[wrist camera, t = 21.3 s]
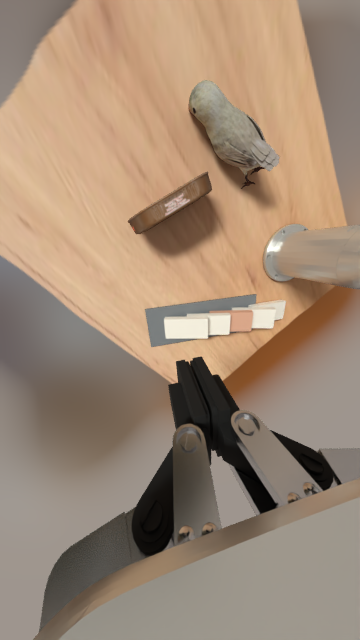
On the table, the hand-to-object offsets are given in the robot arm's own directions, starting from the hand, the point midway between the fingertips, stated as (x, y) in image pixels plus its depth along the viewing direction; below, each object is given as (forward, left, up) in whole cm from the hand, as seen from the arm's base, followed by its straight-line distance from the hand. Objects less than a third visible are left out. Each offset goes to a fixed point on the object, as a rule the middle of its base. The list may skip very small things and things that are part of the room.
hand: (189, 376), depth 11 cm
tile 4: (-18, +10, -28) cm, 35 cm away
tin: (-4, -14, -29) cm, 33 cm away
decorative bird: (-15, -23, -30) cm, 41 cm away
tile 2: (-6, +10, -28) cm, 30 cm away
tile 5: (-23, +10, -28) cm, 37 cm away
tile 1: (-1, +10, -28) cm, 30 cm away
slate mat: (-11, +10, -29) cm, 33 cm away
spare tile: (-12, +10, -28) cm, 32 cm away
